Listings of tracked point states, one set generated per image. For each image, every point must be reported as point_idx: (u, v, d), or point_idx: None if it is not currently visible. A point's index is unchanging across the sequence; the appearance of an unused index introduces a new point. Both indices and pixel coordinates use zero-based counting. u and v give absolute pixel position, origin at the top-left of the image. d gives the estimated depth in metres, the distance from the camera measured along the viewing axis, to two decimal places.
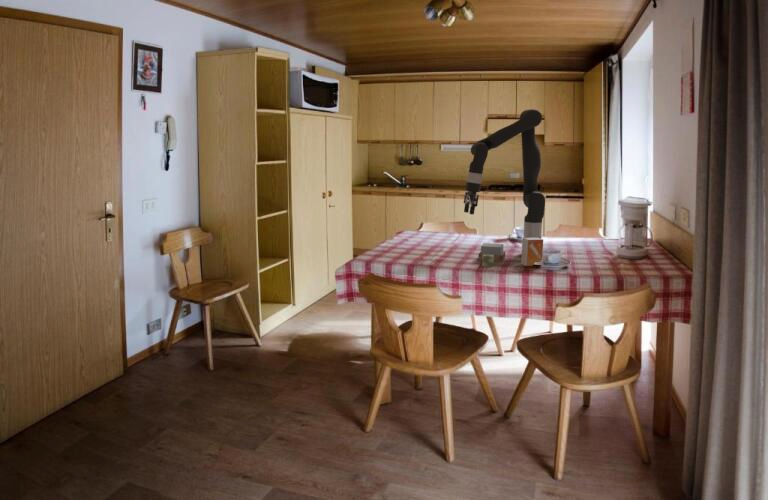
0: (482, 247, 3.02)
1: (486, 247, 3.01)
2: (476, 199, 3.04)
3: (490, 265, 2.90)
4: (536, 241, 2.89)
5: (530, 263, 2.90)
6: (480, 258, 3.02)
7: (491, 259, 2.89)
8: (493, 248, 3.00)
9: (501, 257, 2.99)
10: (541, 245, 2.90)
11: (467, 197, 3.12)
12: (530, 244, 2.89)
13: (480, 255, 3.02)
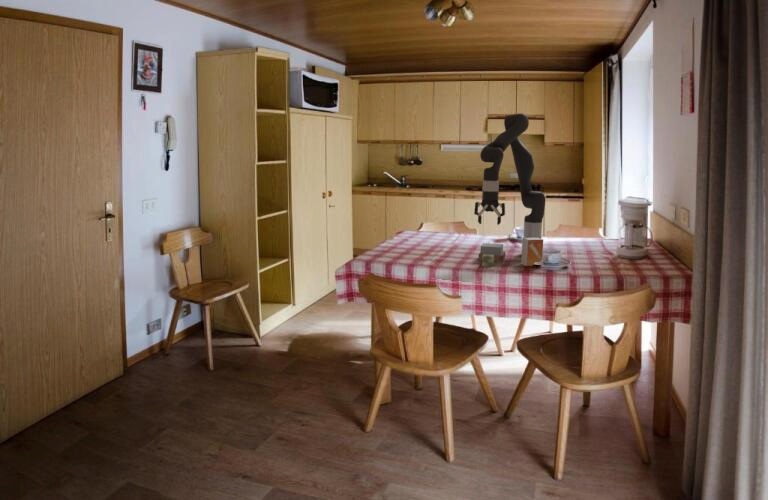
0: (482, 247, 3.02)
1: (486, 247, 3.01)
2: (504, 208, 2.86)
3: (490, 265, 2.90)
4: (536, 241, 2.89)
5: (530, 263, 2.90)
6: (480, 258, 3.02)
7: (491, 259, 2.89)
8: (493, 248, 3.00)
9: (501, 257, 2.99)
10: (541, 245, 2.90)
11: (486, 207, 2.86)
12: (530, 244, 2.89)
13: (480, 255, 3.02)
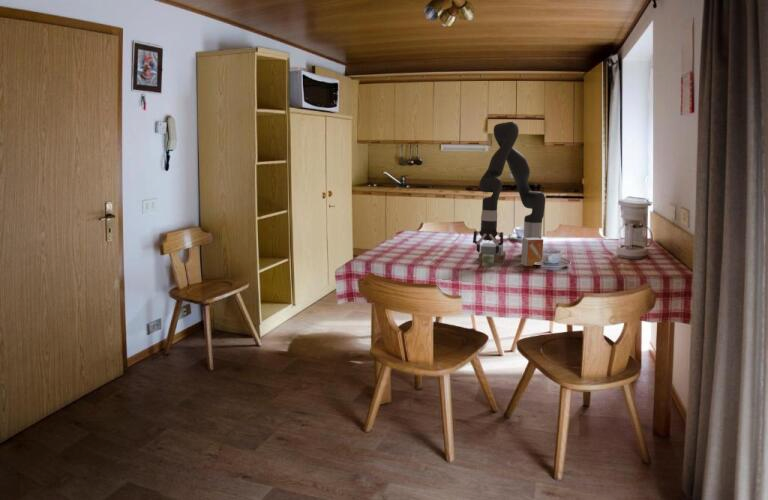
0: (482, 247, 3.02)
1: (486, 247, 3.01)
2: (502, 237, 2.88)
3: (490, 265, 2.90)
4: (536, 241, 2.89)
5: (530, 263, 2.90)
6: (480, 258, 3.02)
7: (491, 259, 2.89)
8: (493, 248, 3.00)
9: (501, 257, 2.99)
10: (541, 245, 2.90)
11: (485, 236, 2.89)
12: (530, 244, 2.89)
13: (480, 255, 3.02)
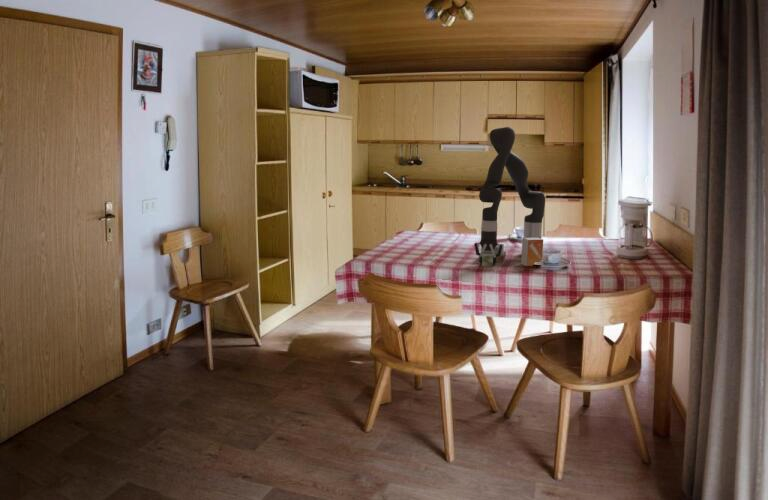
0: None
1: None
2: (501, 249, 2.89)
3: (490, 265, 2.90)
4: (536, 241, 2.89)
5: (530, 263, 2.90)
6: None
7: (491, 259, 2.89)
8: None
9: (502, 257, 2.99)
10: (541, 245, 2.90)
11: (485, 247, 2.90)
12: (530, 244, 2.89)
13: None
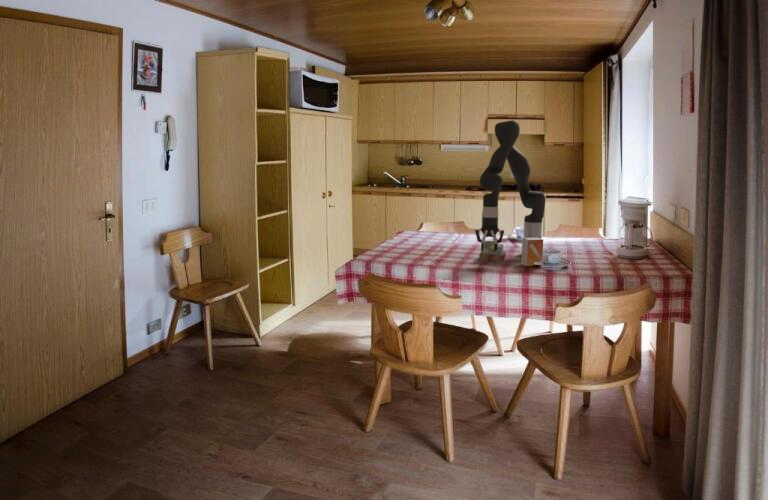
0: None
1: None
2: (502, 235, 2.88)
3: (491, 251, 2.88)
4: (536, 241, 2.89)
5: (530, 263, 2.90)
6: (481, 258, 3.02)
7: (492, 245, 2.88)
8: None
9: (502, 257, 2.99)
10: (541, 245, 2.90)
11: (487, 233, 2.88)
12: (530, 244, 2.89)
13: (481, 255, 3.02)
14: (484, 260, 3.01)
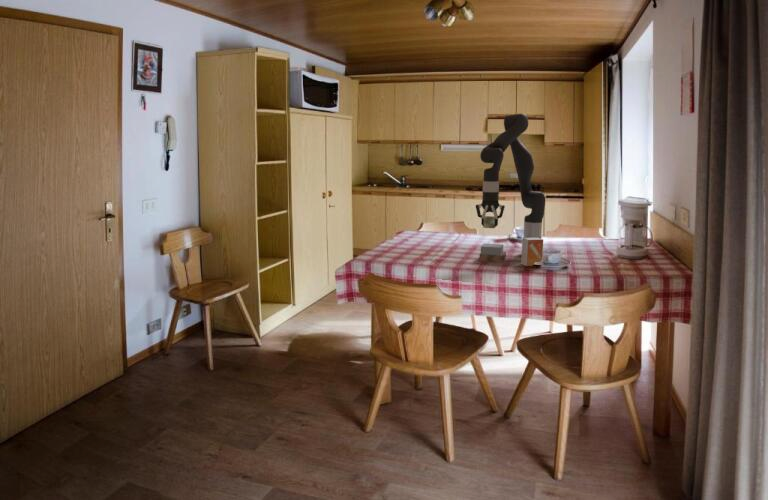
0: (482, 247, 3.02)
1: (486, 247, 3.01)
2: (503, 210, 2.86)
3: (492, 226, 2.86)
4: (536, 241, 2.89)
5: (530, 263, 2.90)
6: (481, 258, 3.02)
7: (493, 220, 2.86)
8: (493, 248, 3.00)
9: (502, 257, 2.99)
10: (541, 245, 2.90)
11: (487, 208, 2.86)
12: (530, 244, 2.89)
13: (481, 255, 3.02)
14: (484, 260, 3.02)
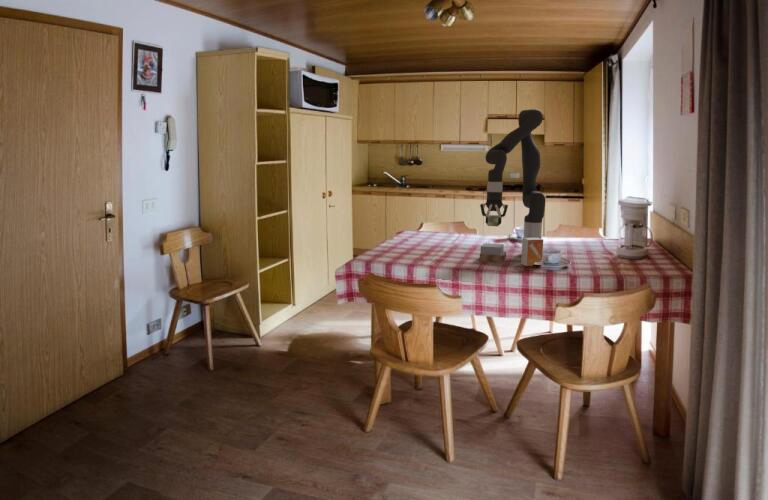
0: (482, 247, 3.02)
1: (486, 247, 3.01)
2: (506, 209, 3.00)
3: (495, 225, 3.00)
4: (536, 241, 2.89)
5: (530, 263, 2.90)
6: (481, 258, 3.02)
7: (496, 219, 3.00)
8: (493, 248, 3.00)
9: (502, 257, 2.99)
10: (541, 245, 2.90)
11: (491, 207, 3.01)
12: (530, 244, 2.89)
13: (481, 255, 3.02)
14: (484, 260, 3.02)
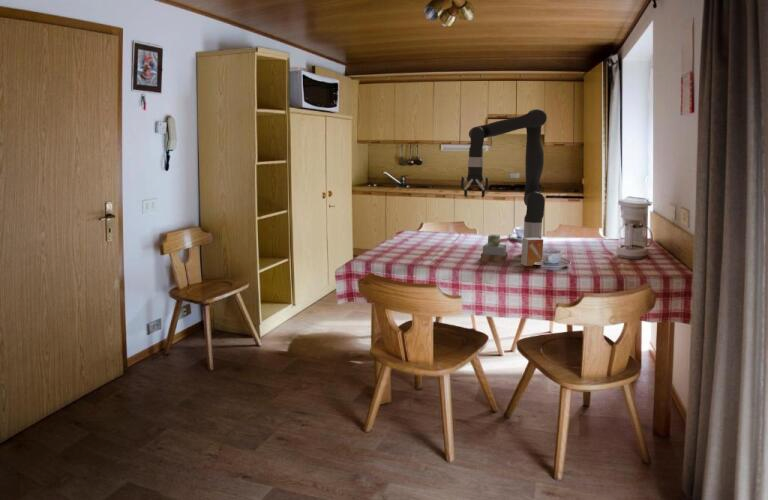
0: (484, 247, 3.02)
1: (488, 247, 3.01)
2: (488, 182, 3.14)
3: (495, 245, 3.02)
4: (536, 241, 2.89)
5: (530, 263, 2.90)
6: (482, 259, 3.01)
7: (496, 239, 3.02)
8: (495, 248, 3.00)
9: (503, 257, 2.98)
10: (541, 245, 2.90)
11: (471, 182, 3.14)
12: (530, 244, 2.89)
13: (482, 256, 3.01)
14: (486, 260, 3.01)
